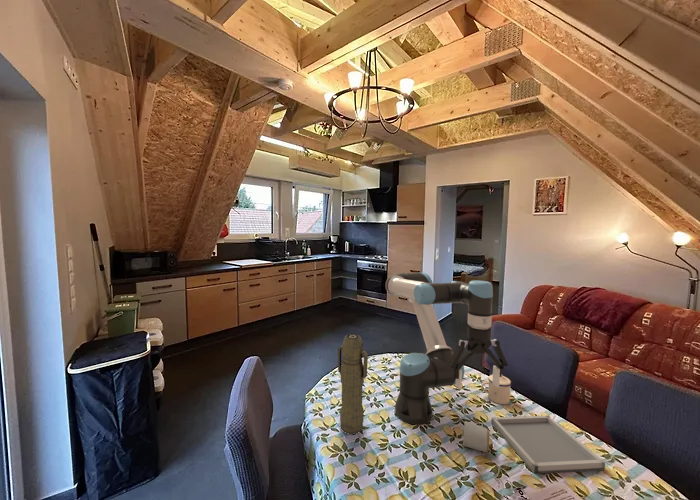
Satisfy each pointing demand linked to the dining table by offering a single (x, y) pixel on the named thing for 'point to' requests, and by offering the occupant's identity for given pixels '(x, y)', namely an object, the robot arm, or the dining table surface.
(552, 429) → the drying tray
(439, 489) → the dining table surface
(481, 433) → the ceramic mug
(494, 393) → the teacup with lid
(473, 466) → the dining table surface
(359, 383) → the thermos
